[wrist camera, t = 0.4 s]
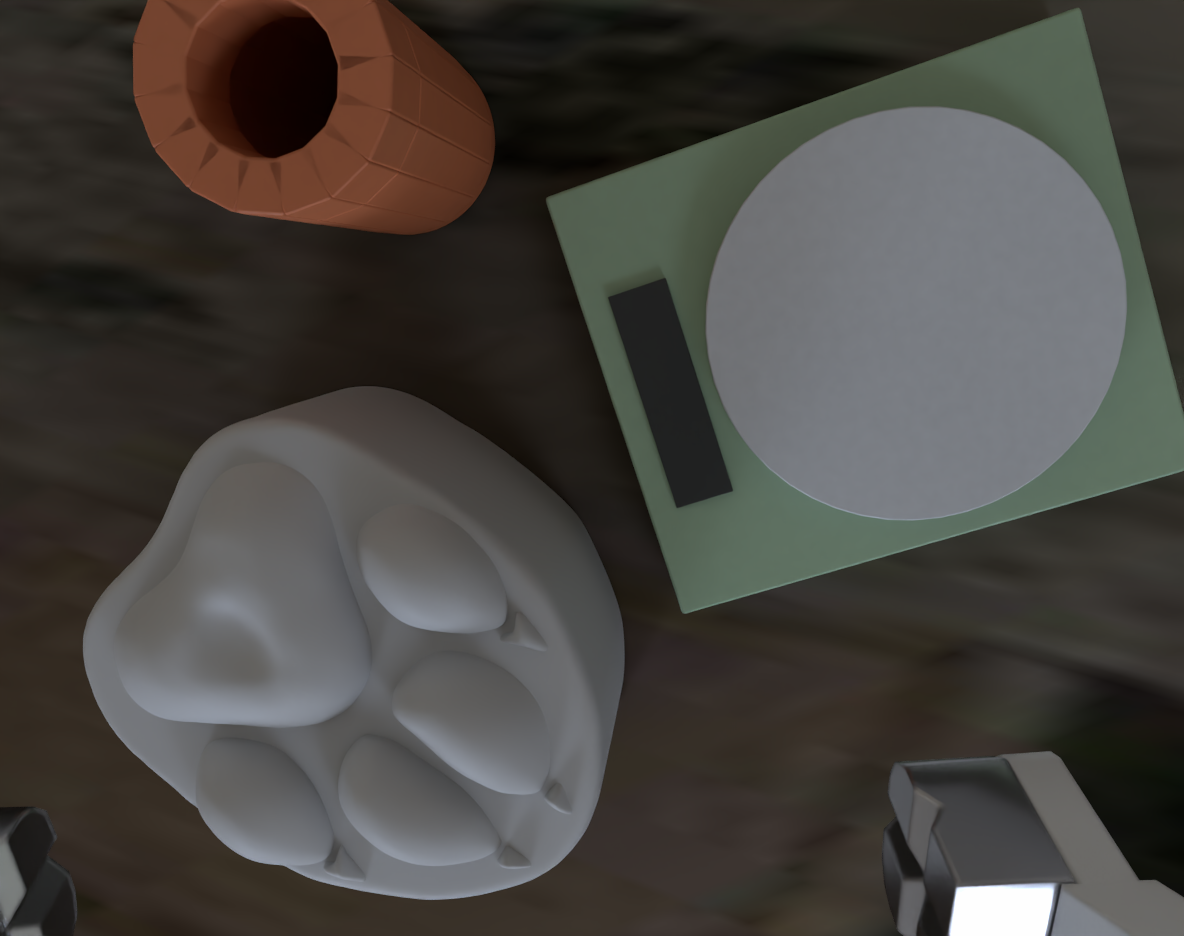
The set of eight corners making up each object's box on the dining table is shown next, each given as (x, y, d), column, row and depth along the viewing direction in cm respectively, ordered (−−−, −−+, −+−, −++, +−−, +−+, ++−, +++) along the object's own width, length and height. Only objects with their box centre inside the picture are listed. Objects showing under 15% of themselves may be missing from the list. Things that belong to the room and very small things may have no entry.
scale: (1055, 24, 28) (1093, -3, 25) (1166, 455, 29) (1213, 473, 27) (554, 202, 30) (539, 195, 27) (683, 594, 32) (681, 624, 29)
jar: (459, 17, 29) (335, -113, 20) (520, 199, 30) (430, 162, 20) (291, 83, 30) (91, -11, 20) (354, 259, 31) (190, 250, 21)
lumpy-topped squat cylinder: (354, 338, 31) (223, 362, 23) (706, 601, 32) (705, 721, 23) (174, 605, 33) (-6, 717, 25) (506, 848, 34) (438, 1041, 25)
